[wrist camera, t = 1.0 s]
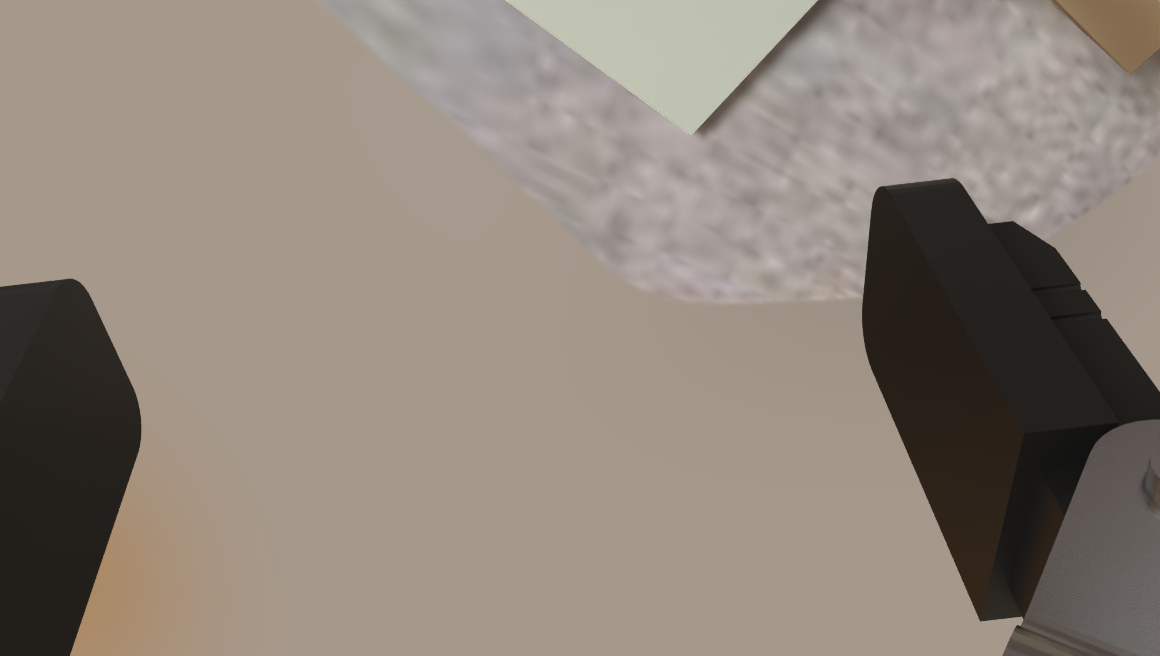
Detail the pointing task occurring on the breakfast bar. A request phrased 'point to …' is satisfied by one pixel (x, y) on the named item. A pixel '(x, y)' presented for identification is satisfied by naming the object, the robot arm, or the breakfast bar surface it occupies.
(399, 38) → the breakfast bar surface
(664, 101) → the tile
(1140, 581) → the robot arm
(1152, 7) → the socket block
